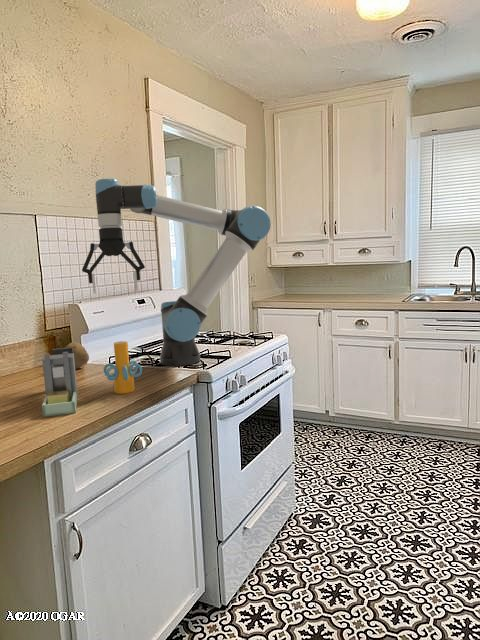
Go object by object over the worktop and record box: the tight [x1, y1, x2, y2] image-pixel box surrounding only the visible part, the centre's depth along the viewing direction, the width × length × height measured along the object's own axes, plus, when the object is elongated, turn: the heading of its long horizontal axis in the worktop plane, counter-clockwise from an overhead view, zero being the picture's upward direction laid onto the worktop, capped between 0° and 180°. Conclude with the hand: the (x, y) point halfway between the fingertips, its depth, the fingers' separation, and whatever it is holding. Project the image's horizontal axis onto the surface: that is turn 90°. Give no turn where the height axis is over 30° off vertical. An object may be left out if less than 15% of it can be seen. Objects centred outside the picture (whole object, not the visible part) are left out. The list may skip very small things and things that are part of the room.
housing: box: [42, 352, 79, 402], centre depth 139 cm, size 8×9×15 cm
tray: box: [41, 392, 78, 418], centre depth 133 cm, size 8×11×3 cm
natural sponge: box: [64, 341, 90, 370], centre depth 183 cm, size 9×9×10 cm
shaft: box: [51, 347, 73, 378], centre depth 146 cm, size 6×22×6 cm, turn 16°
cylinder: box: [103, 340, 143, 395], centre depth 147 cm, size 12×10×15 cm
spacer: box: [47, 390, 70, 404], centre depth 133 cm, size 5×4×4 cm
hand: (115, 292), depth 165 cm, fingers open, 13 cm apart
